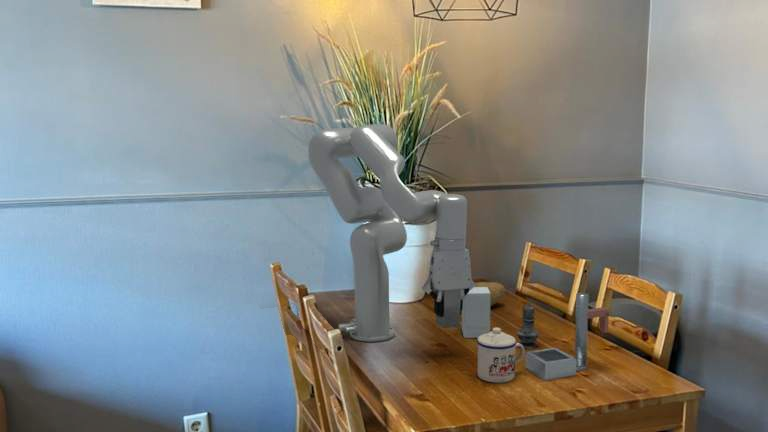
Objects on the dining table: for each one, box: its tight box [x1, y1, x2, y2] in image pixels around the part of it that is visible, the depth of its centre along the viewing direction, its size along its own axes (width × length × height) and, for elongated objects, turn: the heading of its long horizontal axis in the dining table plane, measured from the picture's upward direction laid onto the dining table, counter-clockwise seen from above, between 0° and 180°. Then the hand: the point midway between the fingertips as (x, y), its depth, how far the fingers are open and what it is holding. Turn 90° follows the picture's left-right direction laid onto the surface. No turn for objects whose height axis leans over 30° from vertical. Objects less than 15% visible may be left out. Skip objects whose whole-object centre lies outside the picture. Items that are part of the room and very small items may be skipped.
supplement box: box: [461, 287, 491, 339], centre depth 197 cm, size 7×7×13 cm
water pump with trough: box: [524, 292, 610, 381], centre depth 170 cm, size 20×8×18 cm, turn 111°
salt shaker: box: [516, 301, 540, 350], centre depth 187 cm, size 6×6×12 cm
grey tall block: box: [435, 290, 461, 329], centre depth 179 cm, size 5×5×12 cm
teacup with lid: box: [476, 327, 525, 384], centre depth 166 cm, size 12×9×12 cm
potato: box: [474, 281, 506, 307], centre depth 224 cm, size 10×14×8 cm
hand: (448, 313), depth 180 cm, fingers closed on grey tall block, 4 cm apart
